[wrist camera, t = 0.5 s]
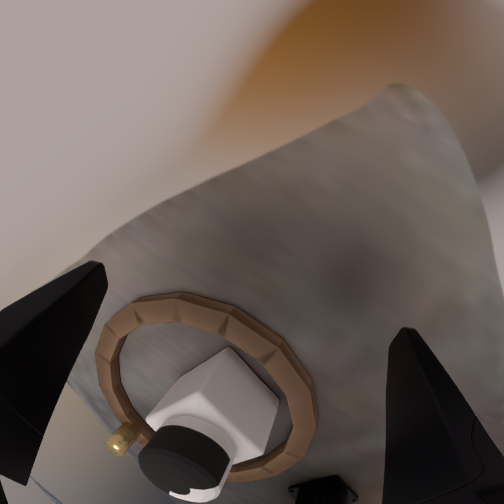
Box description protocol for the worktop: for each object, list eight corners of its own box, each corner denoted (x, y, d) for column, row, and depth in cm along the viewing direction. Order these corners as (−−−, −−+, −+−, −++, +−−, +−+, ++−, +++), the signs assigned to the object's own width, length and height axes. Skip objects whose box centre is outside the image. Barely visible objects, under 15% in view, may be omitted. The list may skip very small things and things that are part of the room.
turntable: (357, 441, 25) (356, 483, 19) (190, 481, 32) (174, 510, 27) (215, 242, 24) (183, 259, 19) (75, 347, 31) (43, 368, 26)
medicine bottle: (179, 376, 28) (110, 457, 17) (230, 343, 26) (163, 439, 14) (227, 425, 28) (180, 514, 17) (282, 399, 26) (247, 506, 14)
